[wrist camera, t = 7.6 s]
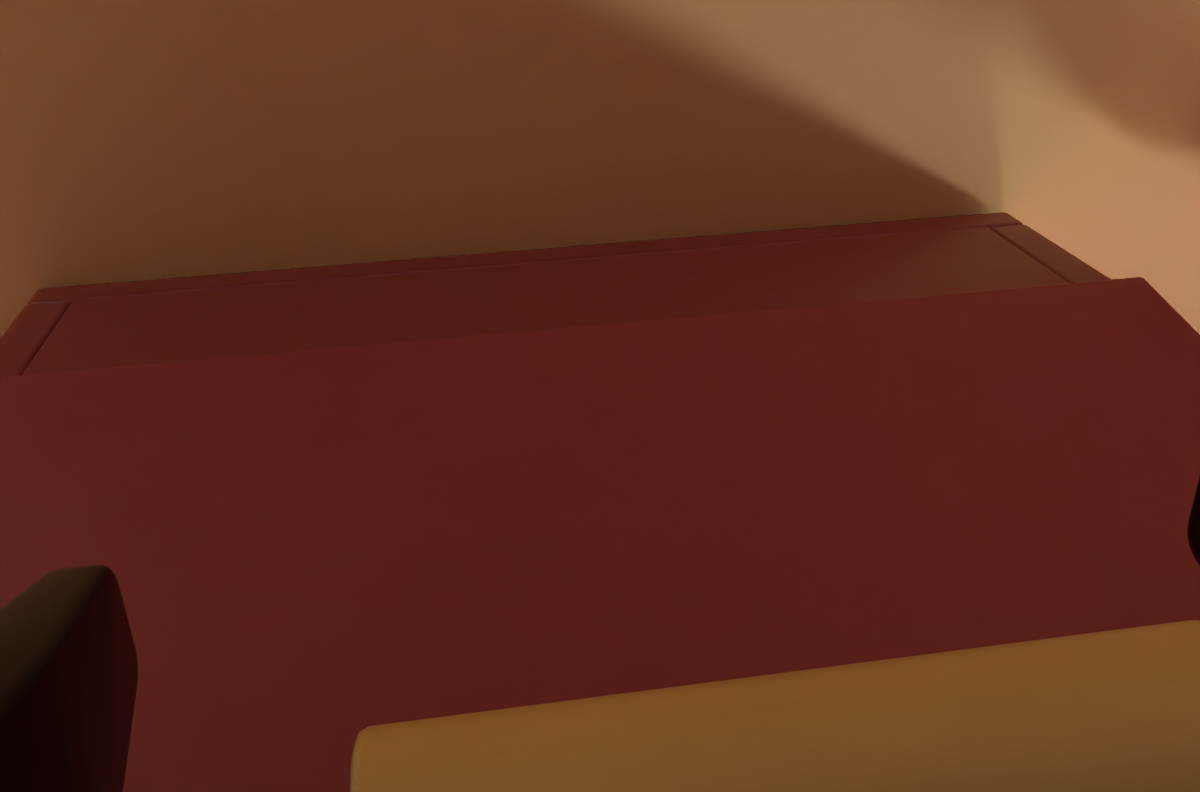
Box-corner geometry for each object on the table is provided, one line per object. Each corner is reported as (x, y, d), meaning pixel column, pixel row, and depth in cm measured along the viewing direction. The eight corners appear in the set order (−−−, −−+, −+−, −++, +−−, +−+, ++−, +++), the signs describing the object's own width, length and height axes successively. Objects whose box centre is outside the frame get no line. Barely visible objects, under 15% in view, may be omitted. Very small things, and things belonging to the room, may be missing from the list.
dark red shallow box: (942, 688, 25) (1022, 817, 22) (171, 791, 23) (133, 950, 20) (1007, 210, 20) (1123, 284, 17) (36, 286, 18) (-43, 387, 15)
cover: (1952, 1184, 8) (2626, 846, 5) (-636, 1742, 6) (-1620, 1644, 3) (1130, 310, 17) (1233, 15, 14) (-44, 417, 15) (-186, 96, 12)
